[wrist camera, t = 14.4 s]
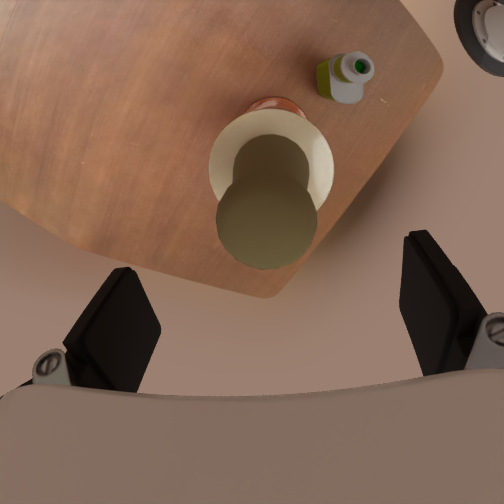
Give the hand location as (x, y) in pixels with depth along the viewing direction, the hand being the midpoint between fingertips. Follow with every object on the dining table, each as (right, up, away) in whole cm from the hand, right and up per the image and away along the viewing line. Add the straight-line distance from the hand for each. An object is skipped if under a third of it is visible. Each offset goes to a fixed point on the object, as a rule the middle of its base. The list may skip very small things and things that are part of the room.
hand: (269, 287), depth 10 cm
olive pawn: (+1, +8, +14) cm, 16 cm away
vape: (+11, +26, +30) cm, 41 cm away
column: (+3, +20, +35) cm, 40 cm away
